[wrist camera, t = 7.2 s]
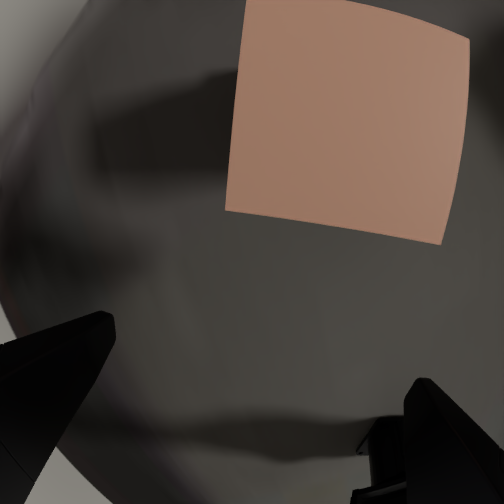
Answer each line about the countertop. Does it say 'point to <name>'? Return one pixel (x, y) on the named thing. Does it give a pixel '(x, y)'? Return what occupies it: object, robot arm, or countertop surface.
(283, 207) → the terracotta block
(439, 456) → the robot arm
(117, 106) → the countertop surface
